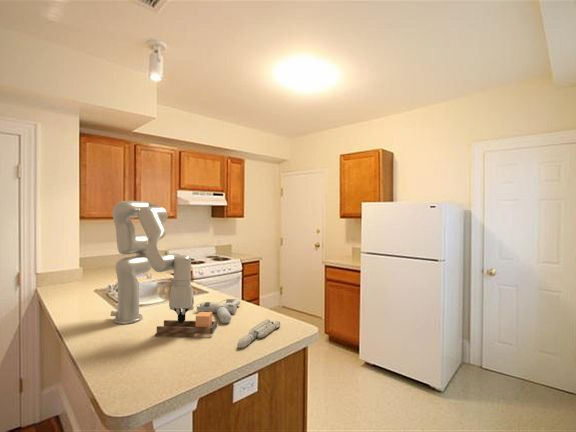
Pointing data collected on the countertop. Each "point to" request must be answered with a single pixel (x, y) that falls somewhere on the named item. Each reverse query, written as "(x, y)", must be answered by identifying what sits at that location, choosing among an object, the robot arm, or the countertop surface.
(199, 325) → the block
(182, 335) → the chute
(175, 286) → the robot arm
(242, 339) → the rocket model
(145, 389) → the countertop surface
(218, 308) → the gun
